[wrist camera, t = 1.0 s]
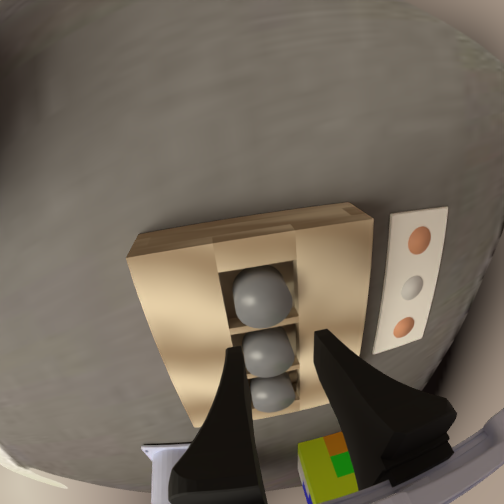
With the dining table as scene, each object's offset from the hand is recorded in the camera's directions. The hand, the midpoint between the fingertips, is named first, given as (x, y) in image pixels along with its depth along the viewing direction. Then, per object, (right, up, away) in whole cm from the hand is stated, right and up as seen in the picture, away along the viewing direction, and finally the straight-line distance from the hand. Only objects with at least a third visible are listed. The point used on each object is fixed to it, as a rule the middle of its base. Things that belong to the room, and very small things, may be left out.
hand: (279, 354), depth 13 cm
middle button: (0, -2, +7) cm, 7 cm away
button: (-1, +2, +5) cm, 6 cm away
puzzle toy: (+10, -23, +22) cm, 34 cm away
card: (+13, +2, +11) cm, 17 cm away
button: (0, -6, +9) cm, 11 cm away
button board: (-1, -1, +9) cm, 10 cm away
